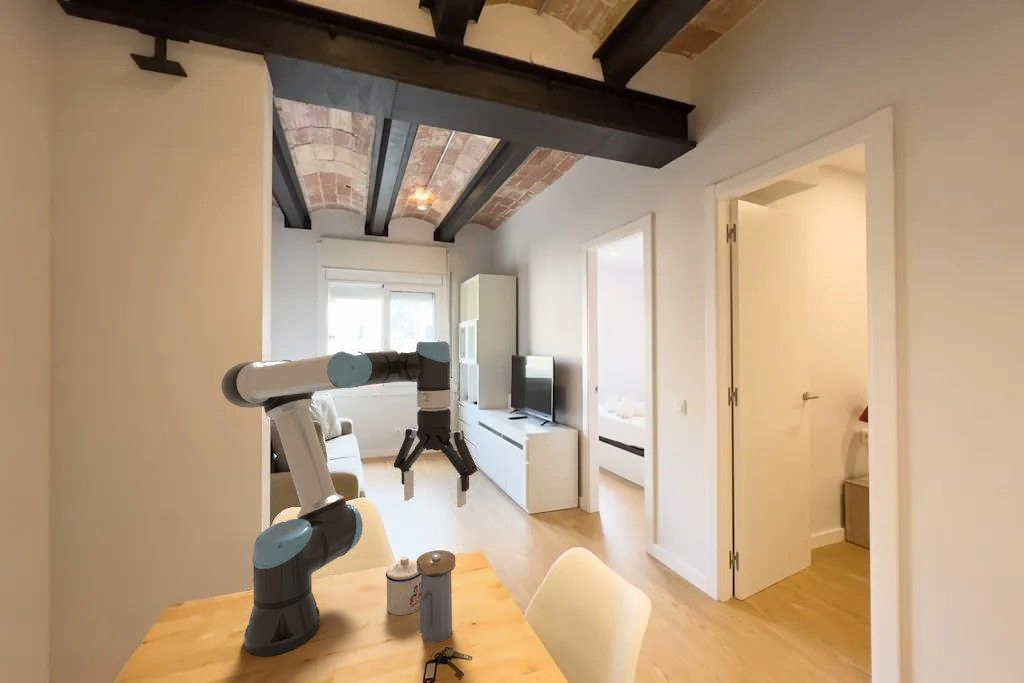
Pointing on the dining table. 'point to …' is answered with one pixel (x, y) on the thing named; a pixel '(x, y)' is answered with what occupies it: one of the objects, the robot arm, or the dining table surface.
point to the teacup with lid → (403, 587)
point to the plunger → (436, 563)
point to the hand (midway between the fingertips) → (434, 502)
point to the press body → (436, 607)
